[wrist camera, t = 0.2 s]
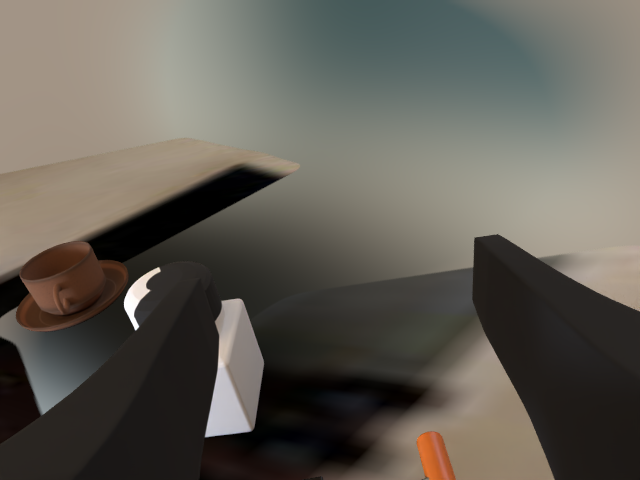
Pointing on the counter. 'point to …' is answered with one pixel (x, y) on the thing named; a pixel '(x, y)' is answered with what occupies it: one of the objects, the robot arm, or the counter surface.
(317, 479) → the switch bracket
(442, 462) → the switch lever
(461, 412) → the counter surface
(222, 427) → the medicine bottle
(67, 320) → the cup and saucer
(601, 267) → the counter surface
